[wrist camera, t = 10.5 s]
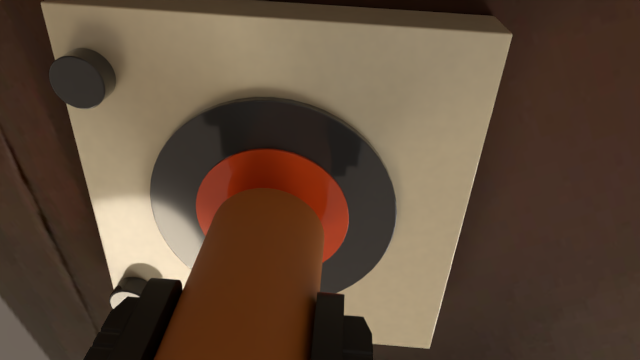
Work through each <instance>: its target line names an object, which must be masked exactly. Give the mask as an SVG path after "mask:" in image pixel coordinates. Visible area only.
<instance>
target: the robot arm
mask: <svg viewBox="0 0 640 360" xmlns="http://www.w3.org/2000/svg"><path fill="white" fill-rule="evenodd" d="M182 291H183V287H182V283H181V281H180V280H174V279H162V278H150V279H149V280H148V282H147V284H146V285H145V287H144V289H143V291H142V293H141V295H140V297H130V296H127V297H126V298H125V299H124V300H123V301H122V302H121V303H120V304H118V305H117V306H116V307H115V308H114V309H113V310H112V311H111V312H110V314H109V315H108V317H107V319H106V321H105V322H104V324H103V326H102V328H101V332H99V333H98V335H97V337H96V338H95V340H94V342H93V346H92V347H90V349H89V351H88V352H87V354H86V356H85V358H84V359H83V360H153V359H154V357H155V355H156V352H157V350H158V348H159V345H160V343H161V341H162V338H163V336H164V333H165V331H166V329H167V326H168V324H169V322H170V319H171V317H172V315H173V312H174V310H175V307H176V305H177V303H178V300H179V298H180V296H181V293H182ZM344 298H345V295H344V294H337V293H325V292H317V299H316V309H315V319H314V330H313V340H312V350H311V360H373V346H372V333H371V331H370V329H369V327H368V325H367V323H366V321H365V319H364V317H361V316H349V315H344Z"/></svg>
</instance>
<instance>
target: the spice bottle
mask: <svg viewBox="0 0 640 360" xmlns="http://www.w3.org/2000/svg"><path fill="white" fill-rule="evenodd" d="M323 249H324V230H323V227H322V224H321V221H320V220H319V218H318V216H317V215H316V213H315V212H314V210H313V209H312V208H311V207H310V206H309V205H308V204H306V203H305V202H304V201H303V200H301V199H299V198H298V197H296V196H294V195H292V194H290V193H287V192H284V191H281V190H277V189H270V188H255V189H249V190H245V191H242V192H239V193H237V194H235V195H233V196H231V197H230V198H228V199H227V200H226V201H224V202H223V203H222V204H221V206H220V207H219V208H218V210H217V211H216V213H215V215H214V218H213V220H212V222H211V225H210V227H209V229H208V232H207V234H206V237H205V239H204V241H203V244H202V246H201V248H200V251H199V253H198V255H197V258H196V260H195V263H194V265H193V267H192V270H191V272H190V274H189V277H188V279H187V281H186V284H185V286H184V289H183V291H182V293H181V296H180V298H179V300H178V303H177V305H176V307H175V310H174V312H173V315H172V317H171V319H170V322H169V324H168V326H167V329H166V331H165V333H164V336H163V338H162V341H161V343H160V345H159V348H158V350H157V352H156V355H155V357H154V359H153V360H311V350H312V340H313V330H314V319H315V309H316V299H317V292H320V283H321V272H322V260H323Z"/></svg>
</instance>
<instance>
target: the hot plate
mask: <svg viewBox="0 0 640 360" xmlns="http://www.w3.org/2000/svg"><path fill="white" fill-rule="evenodd" d="M41 7H42V11H43V15H44V19H45V23H46V27H47V30H48V34H49V38H50V42H51V46H52V50H53V54H54V58H55V61H54V62H53V63H52V65H51V67H50V71H49V80H50V83H51V86H52V88H53V90H54V92H55V93H56V94H57V95H58V97H59V98H60V99H62V100H63V101H64V102H65V103H66V105H67V109H68V113H69V117H70V121H71V124H72V128H73V132H74V136H75V140H76V144H77V148H78V152H79V156H80V160H81V164H82V168H83V171H84V175H85V179H86V183H87V187H88V191H89V195H90V199H91V203H92V207H93V211H94V214H95V218H96V222H97V226H98V230H99V234H100V238H101V242H102V246H103V250H104V254H105V258H106V261H107V265H108V269H109V273H110V277H111V281H112V285H113V289H114V290H113V292H112V294H111V296H110V299H109V302H110V306H111V307H112V309H114V308H115V307H116V306H117V305H118V304H120V303H121V302H122V301H123V300H124V299H125V298H126V297H127V296H130V297H140V295H141V293H142V291H143V289H144V287H145V285H146V284H147V282H148V280H149V279H150V278H162V279H174V280H180V281H181V283H182V287H183V289H184V286H185V284H186V281H187V279H188V277H189V274H190V272H191V270H192V267H193V265H194V263H195V260H196V258H197V255H198V253H199V251H200V248H201V246H202V244H203V241H204V239H205V237H206V234H207V232H208V229H209V227H210V225H211V222H212V220H213V218H214V215H215V213H216V211H217V210H218V208H219V207H220V206H221V204H222V203H223V202H224V201H226V200H227V199H228V198H230V197H231V196H233V195H235V194H237V193H239V192H242V191H245V190H249V189H255V188H270V189H277V190H281V191H284V192H287V193H290V194H292V195H294V196H296V197H298V198H299V199H301V200H303V201H304V202H305V203H306V204H308V205H309V206H310V207H311V208H312V209H313V210H314V212H315V213H316V215H317V216H318V218H319V220H320V221H321V224H322V227H323V230H324V249H323V260H322V272H321V283H320V292H325V293H337V294H344V295H345V298H344V315H349V316H361V317H364V319H365V321H366V323H367V325H368V327H369V329H370V331H371V333H372V344H382V345H393V346H405V347H416V348H428V349H429V348H430V345H431V341H432V337H433V334H434V330H435V326H436V322H437V319H438V315H439V311H440V307H441V303H442V300H443V296H444V292H445V288H446V285H447V281H448V277H449V273H450V269H451V266H452V262H453V258H454V254H455V251H456V247H457V243H458V239H459V235H460V232H461V228H462V224H463V220H464V217H465V213H466V209H467V205H468V201H469V198H470V194H471V190H472V186H473V182H474V179H475V175H476V171H477V167H478V164H479V160H480V156H481V152H482V148H483V145H484V141H485V137H486V133H487V130H488V126H489V122H490V118H491V114H492V111H493V107H494V103H495V99H496V96H497V92H498V88H499V84H500V80H501V77H502V73H503V69H504V65H505V62H506V58H507V54H508V50H509V46H510V43H511V39H512V33H511V32H510V31H509V30H508V29H507V28H506V27H505V26H504V25H503V24H502V23H501V22H500V21H499V20H498V19H497V18H496V17H495V16H486V15H471V14H456V13H441V12H426V11H410V10H395V9H380V8H365V7H350V6H335V5H319V4H304V3H289V2H274V1H259V0H45V1H43V2H41Z"/></svg>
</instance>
